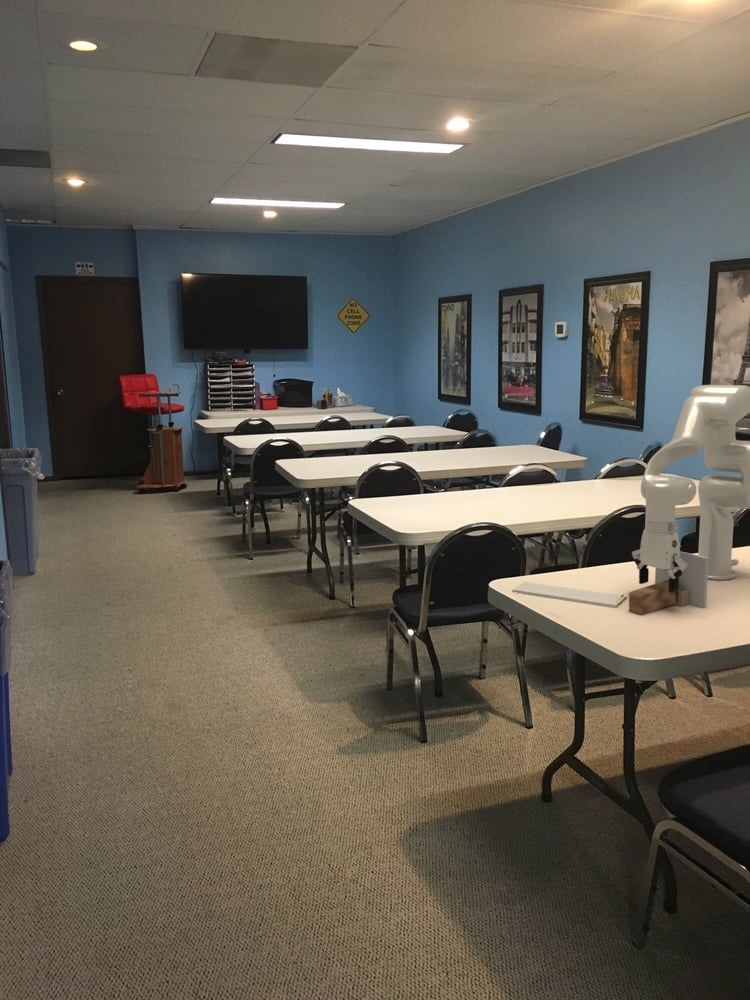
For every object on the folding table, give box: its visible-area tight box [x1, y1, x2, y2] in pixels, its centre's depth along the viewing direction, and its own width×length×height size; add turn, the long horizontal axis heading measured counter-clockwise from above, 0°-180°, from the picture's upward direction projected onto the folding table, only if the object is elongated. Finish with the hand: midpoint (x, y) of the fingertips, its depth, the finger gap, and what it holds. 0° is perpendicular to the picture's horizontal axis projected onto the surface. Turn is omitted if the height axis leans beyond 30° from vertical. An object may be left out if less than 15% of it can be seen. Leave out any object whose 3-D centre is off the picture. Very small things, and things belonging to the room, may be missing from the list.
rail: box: [628, 580, 680, 616], centre depth 213 cm, size 16×4×6 cm, turn 122°
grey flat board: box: [511, 581, 629, 609], centre depth 227 cm, size 31×3×12 cm
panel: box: [654, 550, 709, 609], centre depth 217 cm, size 5×16×14 cm, turn 32°
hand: (658, 587), depth 213 cm, fingers open, 9 cm apart
